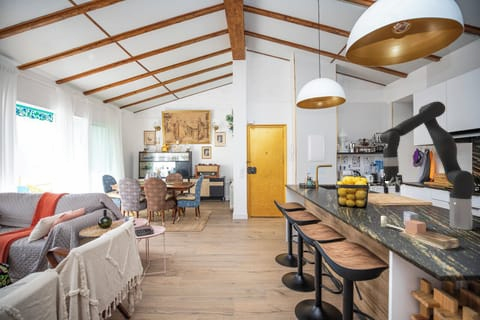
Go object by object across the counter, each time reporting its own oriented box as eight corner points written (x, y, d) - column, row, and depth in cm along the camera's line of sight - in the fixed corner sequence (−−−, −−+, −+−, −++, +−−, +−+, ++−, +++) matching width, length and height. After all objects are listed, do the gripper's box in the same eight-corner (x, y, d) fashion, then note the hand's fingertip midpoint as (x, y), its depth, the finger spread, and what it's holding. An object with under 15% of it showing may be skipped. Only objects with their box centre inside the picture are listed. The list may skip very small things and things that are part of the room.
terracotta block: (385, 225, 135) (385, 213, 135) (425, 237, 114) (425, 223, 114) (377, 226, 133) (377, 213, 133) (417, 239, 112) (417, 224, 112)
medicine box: (419, 229, 127) (419, 214, 127) (410, 229, 128) (410, 214, 128) (411, 225, 135) (411, 211, 135) (403, 225, 136) (403, 211, 136)
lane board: (413, 233, 121) (413, 226, 121) (458, 246, 102) (458, 239, 102) (399, 235, 119) (399, 228, 119) (442, 249, 99) (442, 241, 99)
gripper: (394, 164, 138) (395, 191, 137) (375, 165, 133) (376, 193, 133) (406, 164, 130) (407, 192, 130) (387, 165, 126) (388, 194, 126)
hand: (392, 193), depth 132 cm, fingers open, 8 cm apart
